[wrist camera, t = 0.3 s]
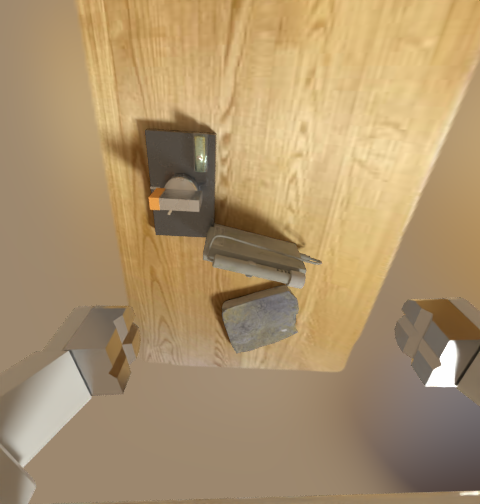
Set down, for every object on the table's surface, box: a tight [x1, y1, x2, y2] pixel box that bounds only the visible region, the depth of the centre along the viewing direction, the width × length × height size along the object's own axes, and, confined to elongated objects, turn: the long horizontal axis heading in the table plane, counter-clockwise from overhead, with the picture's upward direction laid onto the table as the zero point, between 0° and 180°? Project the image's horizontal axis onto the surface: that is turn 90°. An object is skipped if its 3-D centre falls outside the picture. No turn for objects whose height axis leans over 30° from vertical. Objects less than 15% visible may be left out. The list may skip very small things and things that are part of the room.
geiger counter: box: [203, 223, 322, 289], centre depth 54 cm, size 14×6×25 cm
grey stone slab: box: [222, 285, 299, 353], centre depth 70 cm, size 20×5×17 cm
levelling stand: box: [145, 129, 216, 237], centre depth 51 cm, size 20×12×5 cm, turn 176°
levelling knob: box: [149, 174, 202, 212], centre depth 47 cm, size 8×6×8 cm
